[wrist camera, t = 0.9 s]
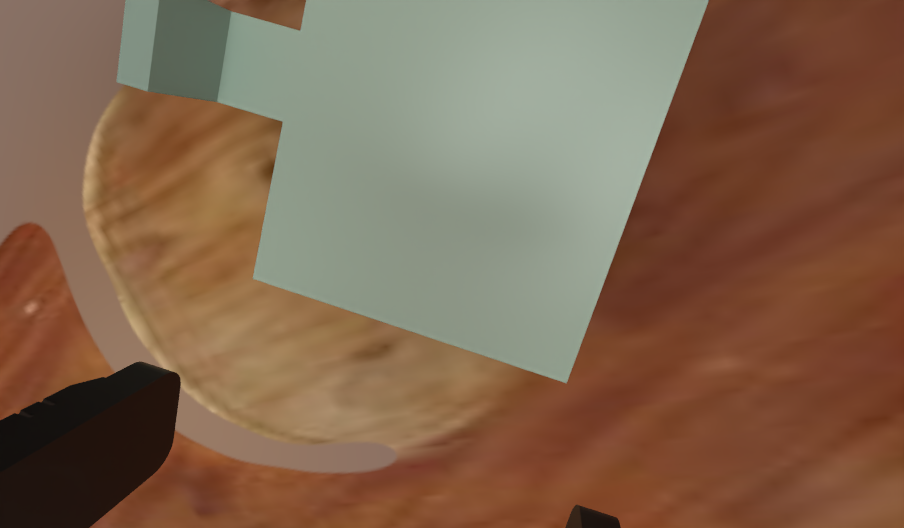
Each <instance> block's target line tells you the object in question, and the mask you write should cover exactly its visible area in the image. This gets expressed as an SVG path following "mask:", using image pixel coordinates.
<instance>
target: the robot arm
mask: <svg viewBox="0 0 904 528" xmlns="http://www.w3.org/2000/svg"><path fill="white" fill-rule="evenodd" d="M180 384H181V382H180V377H179V375H178V374H177V373H175V372H172V371H169V370H166V369H163V368H160V367H156V366H154V365H150V364H147V363H144V362H136V363H134V364H132V365H130V366H128V367H126V368H124V369H122V370H120V371H118V372H116V373H114V374H112V375H110V376H108V377H107V378H104V377H102V378H98V379H94V380H90V381H86V382H82V383H78V384H74V385H71V386H69V387H67V388H65V389H63V390H61V391H59V392H57V393H55V394H53V395H51V396H49V397H47V398H44V400H43V401H42V402H36V403H34V404H32V405H30V406H28V407H26V408H24V409H22V410H21V411H20V413H19V414H15V413H14V414H12V415H10V416H8V417H6V418H4V419H2V420H0V528H89V527H90V526H92V525H93V524H94V523H95V522H96V521H98V520H99V519H100V518H101V517H102V516H104V515H105V514H106V513H107V512H108V511H110V510H111V509H112V508H113V507H114V506H116V505H117V504H118V503H119V502H120V501H122V500H123V499H124V498H125V497H127V496H128V495H129V494H130V493H131V492H133V491H134V490H135V489H136V488H137V487H139V486H140V485H141V484H142V483H143V482H145V481H146V480H147V479H148V478H149V477H151V476H152V475H153V474H154V473H155V472H156V471H157V470H158V469H159V468H160V467H161V465H162V464H163V463H164V461H165V460H166V458H167V456H168V454H169V452H170V450H171V447H172V444H173V439H174V431H175V423H176V416H177V408H178V400H179V393H180ZM566 528H620V523H619V520H618V519H617V518H616V517H613V516H610V515H607V514H604V513H601V512H598V511H595V510H592V509H588V508H585V507H582V506H579V505H575V507H574V508H573V510H572V512H571V514H570V517H569V520H568V522H567V525H566Z"/></svg>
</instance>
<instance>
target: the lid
mask: <svg viewBox="0 0 904 528" xmlns="http://www.w3.org/2000/svg"><path fill="white" fill-rule="evenodd" d="M708 1H709V0H306V4H305V9H304V15H303V20H302V25H301V30H300V31H299V30H295V29H292V28H288V27H285V26H281V25H278V24H274V23H271V22H267V21H263V20H260V19H256V18H253V17H249V16H246V15H242V14H239V13H235V12H231V11H229V10H227V9H225V8H223V7H220V6H218V5H216V4H214V3H212V2H209V1H207V0H126V3H125V12H124V21H123V30H122V39H121V48H120V56H119V66H118V74H117V82H118V83H122V84H125V85H128V86H132V87H135V88H138V89H142V90H145V91H149V92H155V93H162V94H168V95H175V96H181V97H188V98H194V99H201V100H207V101H214V102H219V103H222V104H225V105H229V106H232V107H235V108H239V109H242V110H245V111H249V112H252V113H255V114H259V115H262V116H265V117H269V118H272V119H275V120H279V121H282V122H283V124H282V129H281V134H280V140H279V145H278V150H277V155H276V160H275V166H274V171H273V176H272V181H271V186H270V192H269V197H268V202H267V207H266V212H265V218H264V223H263V228H262V233H261V238H260V244H259V249H258V254H257V259H256V265H255V270H254V275H253V279H255V280H258V281H261V282H264V283H267V284H270V285H273V286H276V287H279V288H282V289H285V290H288V291H291V292H294V293H297V294H300V295H303V296H306V297H309V298H312V299H315V300H318V301H321V302H324V303H327V304H330V305H333V306H336V307H339V308H342V309H345V310H348V311H351V312H354V313H357V314H360V315H363V316H366V317H369V318H372V319H375V320H378V321H381V322H384V323H387V324H390V325H393V326H396V327H399V328H402V329H405V330H408V331H411V332H414V333H417V334H420V335H423V336H426V337H429V338H432V339H435V340H438V341H441V342H444V343H447V344H450V345H453V346H456V347H459V348H462V349H465V350H468V351H471V352H474V353H477V354H480V355H483V356H486V357H489V358H492V359H495V360H498V361H501V362H504V363H507V364H510V365H513V366H516V367H519V368H522V369H525V370H528V371H531V372H534V373H537V374H540V375H543V376H546V377H549V378H552V379H555V380H558V381H561V382H564V383H567V381H568V378H569V375H570V373H571V370H572V367H573V365H574V362H575V359H576V356H577V354H578V351H579V348H580V346H581V343H582V340H583V338H584V335H585V332H586V330H587V327H588V324H589V321H590V319H591V316H592V313H593V311H594V308H595V305H596V303H597V300H598V297H599V295H600V292H601V289H602V286H603V284H604V281H605V278H606V276H607V273H608V270H609V268H610V265H611V262H612V259H613V257H614V254H615V251H616V249H617V246H618V243H619V241H620V238H621V235H622V233H623V230H624V227H625V224H626V222H627V219H628V216H629V214H630V211H631V208H632V206H633V203H634V200H635V198H636V195H637V192H638V189H639V187H640V184H641V181H642V179H643V176H644V173H645V171H646V168H647V165H648V163H649V160H650V157H651V154H652V152H653V149H654V146H655V144H656V141H657V138H658V136H659V133H660V130H661V128H662V125H663V122H664V119H665V117H666V114H667V111H668V109H669V106H670V103H671V101H672V98H673V95H674V93H675V90H676V87H677V84H678V82H679V79H680V76H681V74H682V71H683V68H684V66H685V63H686V60H687V58H688V55H689V52H690V49H691V47H692V44H693V41H694V39H695V36H696V33H697V31H698V28H699V25H700V23H701V20H702V17H703V14H704V12H705V9H706V6H707V4H708Z"/></svg>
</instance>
